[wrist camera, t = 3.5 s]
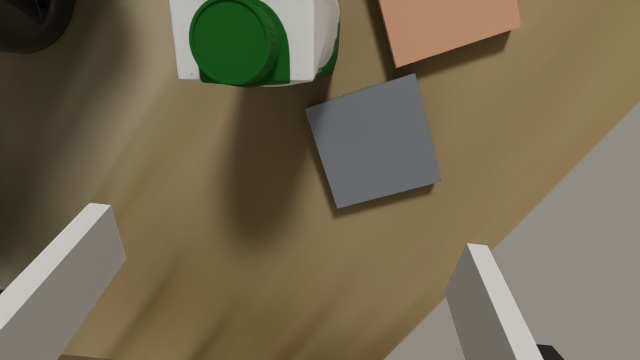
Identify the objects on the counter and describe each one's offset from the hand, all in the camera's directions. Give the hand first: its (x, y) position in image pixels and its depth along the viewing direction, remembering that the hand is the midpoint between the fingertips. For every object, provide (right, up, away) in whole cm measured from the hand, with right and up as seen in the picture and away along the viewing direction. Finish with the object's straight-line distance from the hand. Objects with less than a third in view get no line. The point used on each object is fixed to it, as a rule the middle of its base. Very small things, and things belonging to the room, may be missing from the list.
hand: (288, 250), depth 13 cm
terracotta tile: (+12, +20, +19) cm, 30 cm away
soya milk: (-1, +17, +22) cm, 28 cm away
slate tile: (+7, +7, +24) cm, 26 cm away
